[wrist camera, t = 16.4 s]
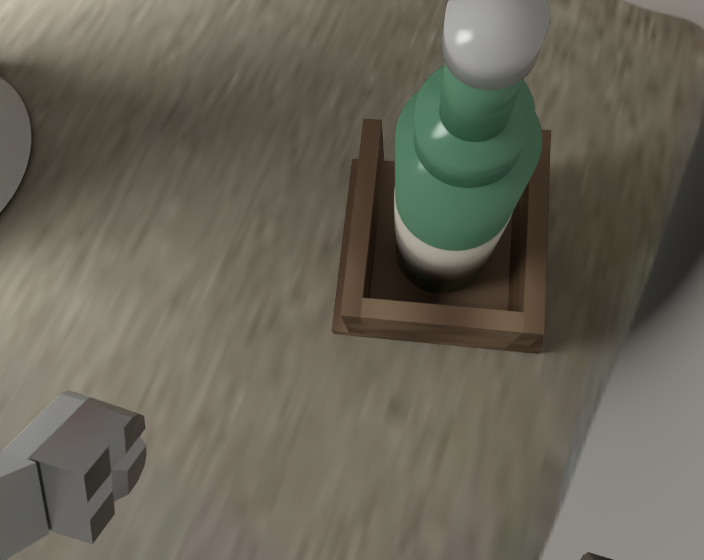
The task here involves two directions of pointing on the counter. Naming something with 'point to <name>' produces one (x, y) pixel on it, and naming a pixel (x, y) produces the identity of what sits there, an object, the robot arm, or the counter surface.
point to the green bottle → (468, 142)
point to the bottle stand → (440, 308)
